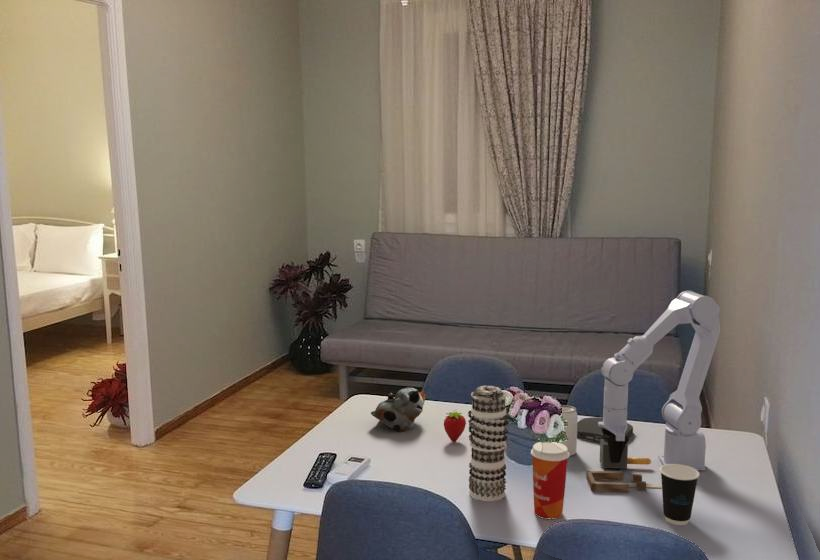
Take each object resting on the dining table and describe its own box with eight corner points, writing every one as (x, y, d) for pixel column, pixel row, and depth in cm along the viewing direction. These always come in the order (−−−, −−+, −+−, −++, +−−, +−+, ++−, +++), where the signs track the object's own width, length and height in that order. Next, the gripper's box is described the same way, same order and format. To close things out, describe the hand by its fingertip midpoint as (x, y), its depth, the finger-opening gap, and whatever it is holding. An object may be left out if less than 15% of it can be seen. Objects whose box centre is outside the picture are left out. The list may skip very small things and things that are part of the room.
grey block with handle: (648, 462, 186) (649, 440, 185) (652, 469, 182) (653, 446, 181) (599, 461, 187) (600, 438, 186) (602, 467, 183) (603, 444, 182)
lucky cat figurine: (386, 414, 224) (408, 375, 223) (416, 436, 219) (439, 396, 218) (362, 414, 211) (386, 372, 210) (394, 438, 206) (418, 395, 205)
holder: (656, 480, 177) (656, 472, 177) (664, 493, 170) (665, 485, 169) (586, 477, 178) (586, 470, 178) (591, 490, 171) (591, 483, 171)
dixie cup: (676, 531, 151) (679, 481, 150) (649, 515, 159) (651, 467, 157) (704, 524, 155) (708, 474, 153) (677, 508, 162) (679, 461, 160)
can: (576, 457, 191) (578, 413, 189) (551, 455, 192) (552, 411, 190) (576, 448, 197) (577, 405, 195) (551, 446, 198) (552, 404, 197)
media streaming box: (636, 432, 211) (636, 422, 210) (621, 448, 198) (621, 437, 198) (586, 423, 218) (587, 413, 218) (569, 437, 206) (569, 427, 206)
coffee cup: (525, 505, 163) (526, 440, 161) (561, 503, 164) (563, 439, 162) (534, 523, 155) (536, 455, 153) (572, 521, 156) (575, 454, 154)
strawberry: (469, 439, 204) (469, 404, 202) (460, 448, 197) (460, 412, 196) (449, 436, 206) (449, 401, 205) (439, 445, 199) (439, 409, 198)
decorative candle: (496, 505, 163) (499, 397, 160) (460, 496, 168) (461, 390, 164) (513, 490, 171) (516, 386, 167) (478, 481, 176) (479, 380, 172)
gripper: (594, 397, 190) (592, 447, 192) (604, 415, 176) (602, 469, 178) (621, 397, 189) (619, 448, 191) (634, 416, 175) (632, 470, 177)
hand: (613, 458), depth 184 cm, fingers closed on grey block with handle, 4 cm apart
